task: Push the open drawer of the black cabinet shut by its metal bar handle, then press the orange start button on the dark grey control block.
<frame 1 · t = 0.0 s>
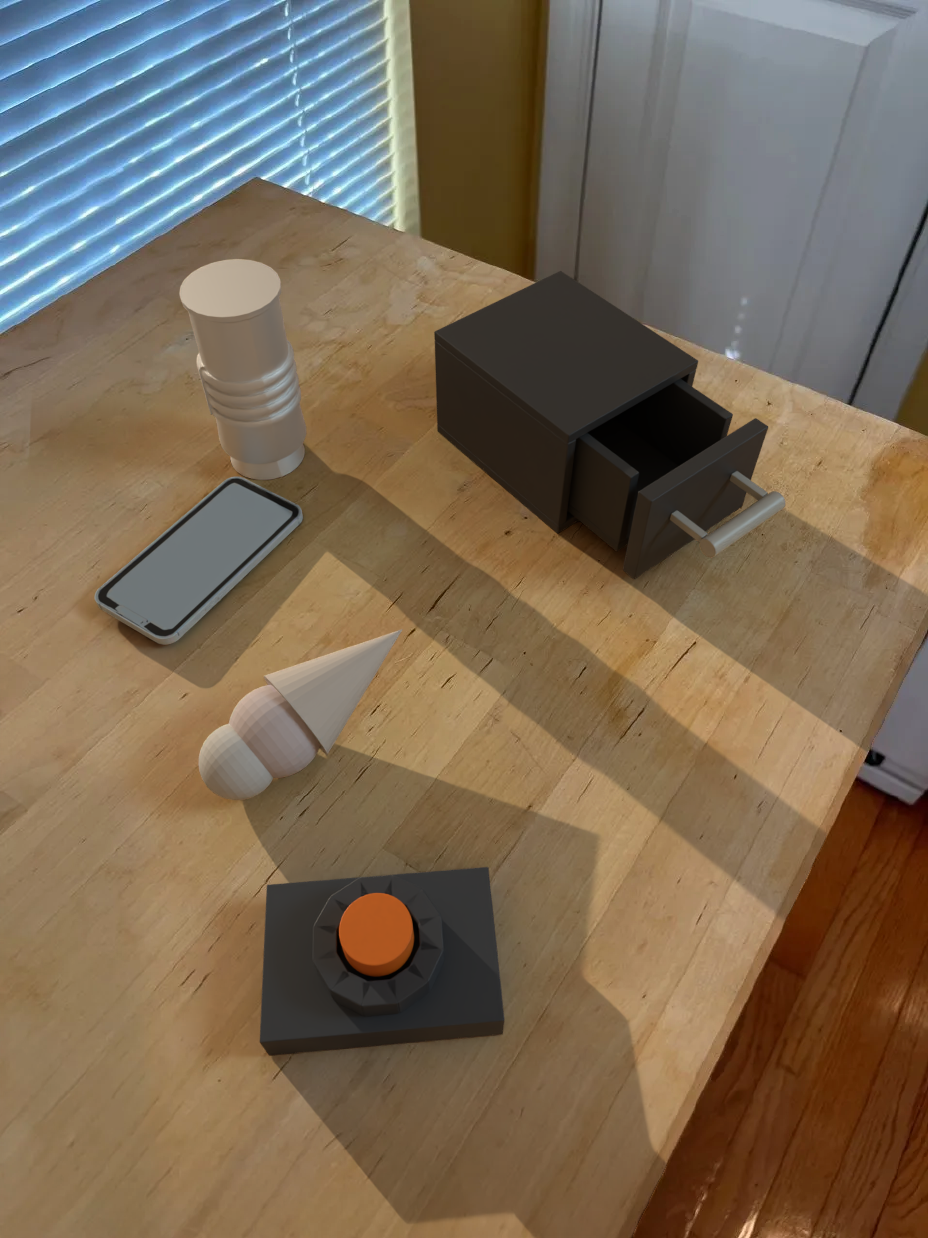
ice cream cone: (313, 732, 60), on the table
cabinet: (554, 445, 76), on the table
smartphone: (205, 561, 68), on the table
beige ribbed canister: (267, 455, 75), on the table
button: (377, 934, 47), point 5 cm above the table, slide at 0.1 cm
control block: (384, 966, 51), on the table
drawer: (652, 468, 67), point 5 cm above the table, slide at 6.0 cm
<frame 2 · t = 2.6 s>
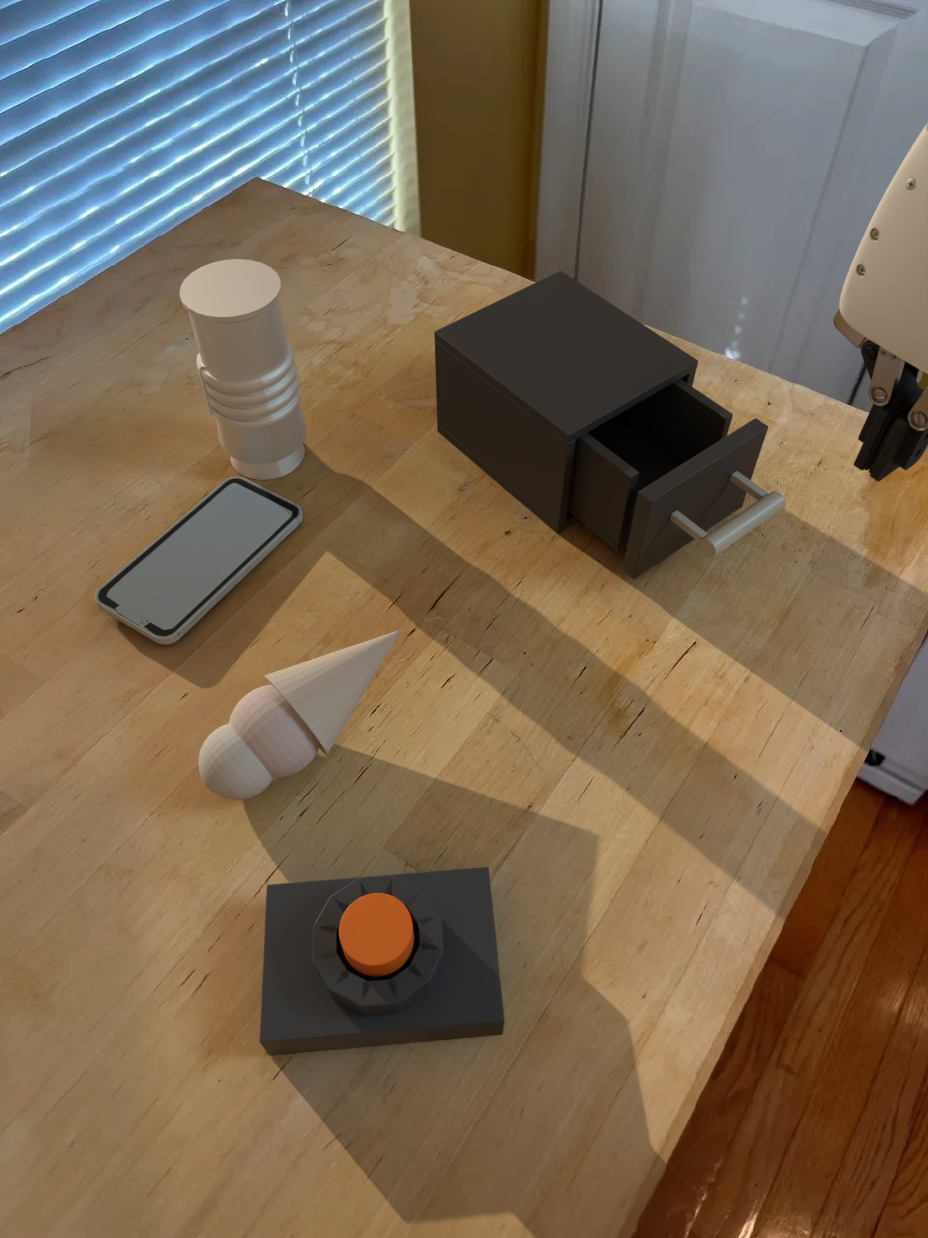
hand: (882, 462, 51), 16 cm above the table, tool pointing down, fingers closed
nothing on the table moved.
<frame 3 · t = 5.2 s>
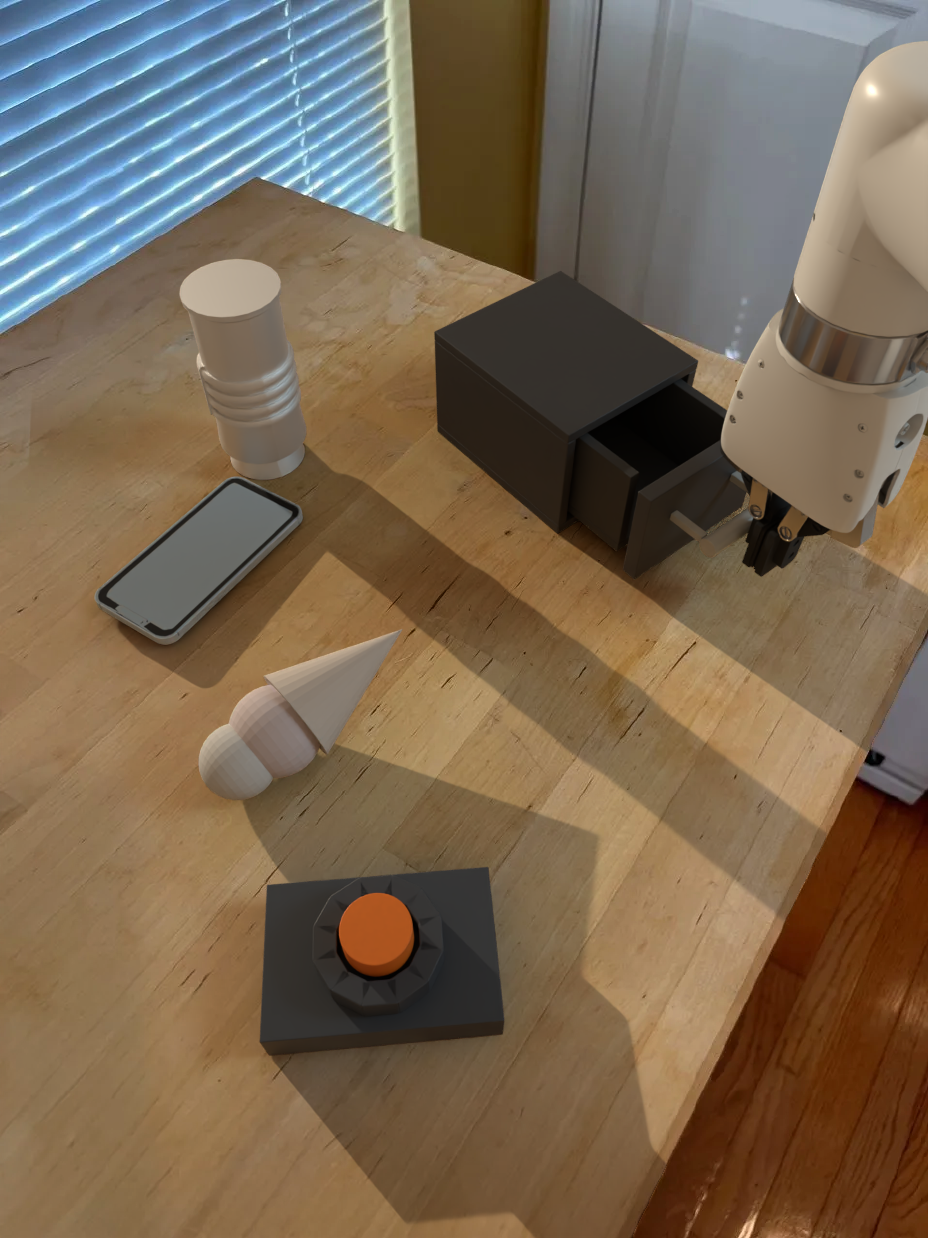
hand: (766, 559, 62), 4 cm above the table, tool pointing down, fingers closed
drawer: (652, 467, 67), point 5 cm above the table, slide at 6.0 cm, touching gripper
everything else where it was.
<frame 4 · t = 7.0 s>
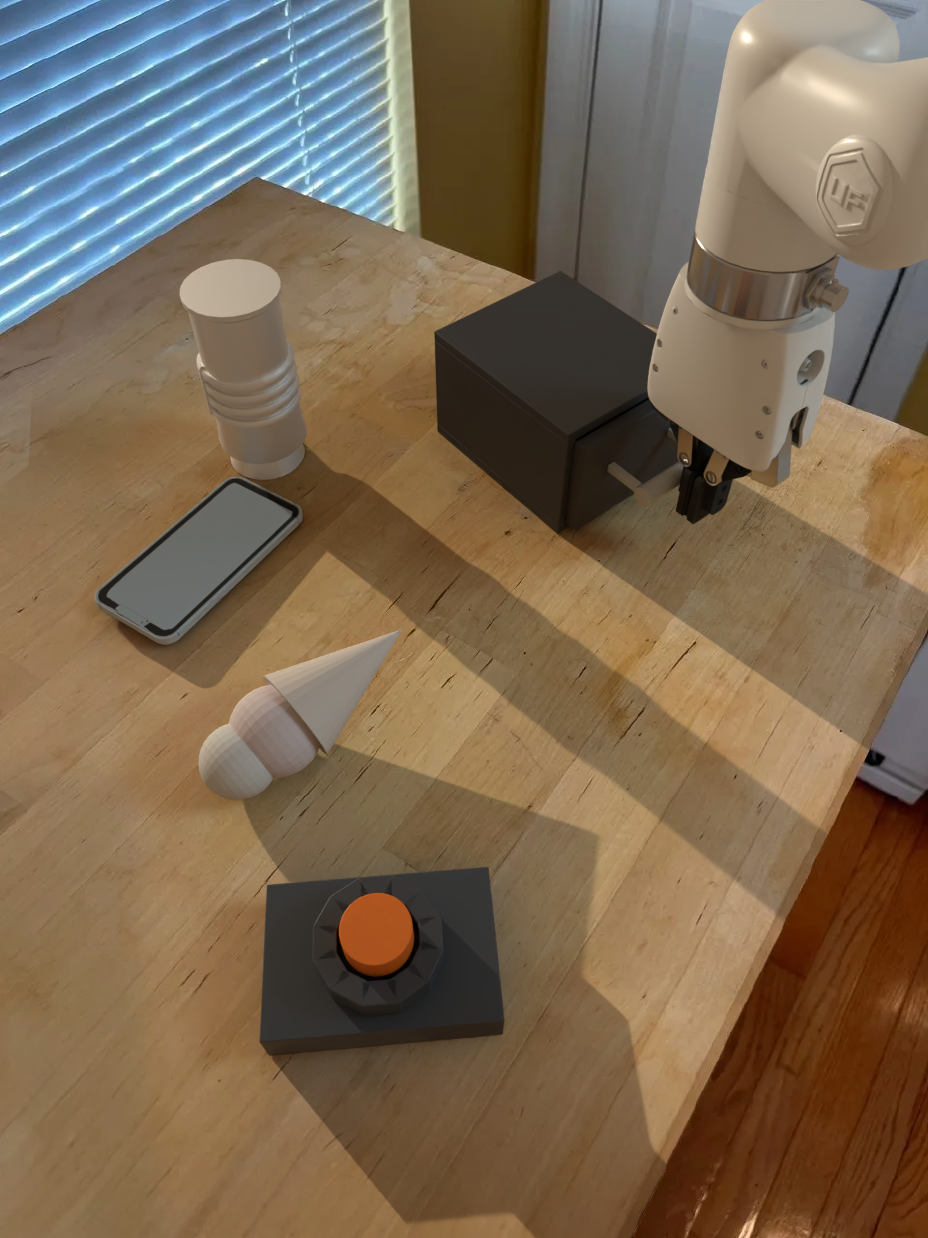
hand: (699, 508, 65), 4 cm above the table, tool pointing down, fingers closed
drawer: (594, 424, 70), point 5 cm above the table, slide at 0.0 cm, touching cabinet, gripper
everything else where it was.
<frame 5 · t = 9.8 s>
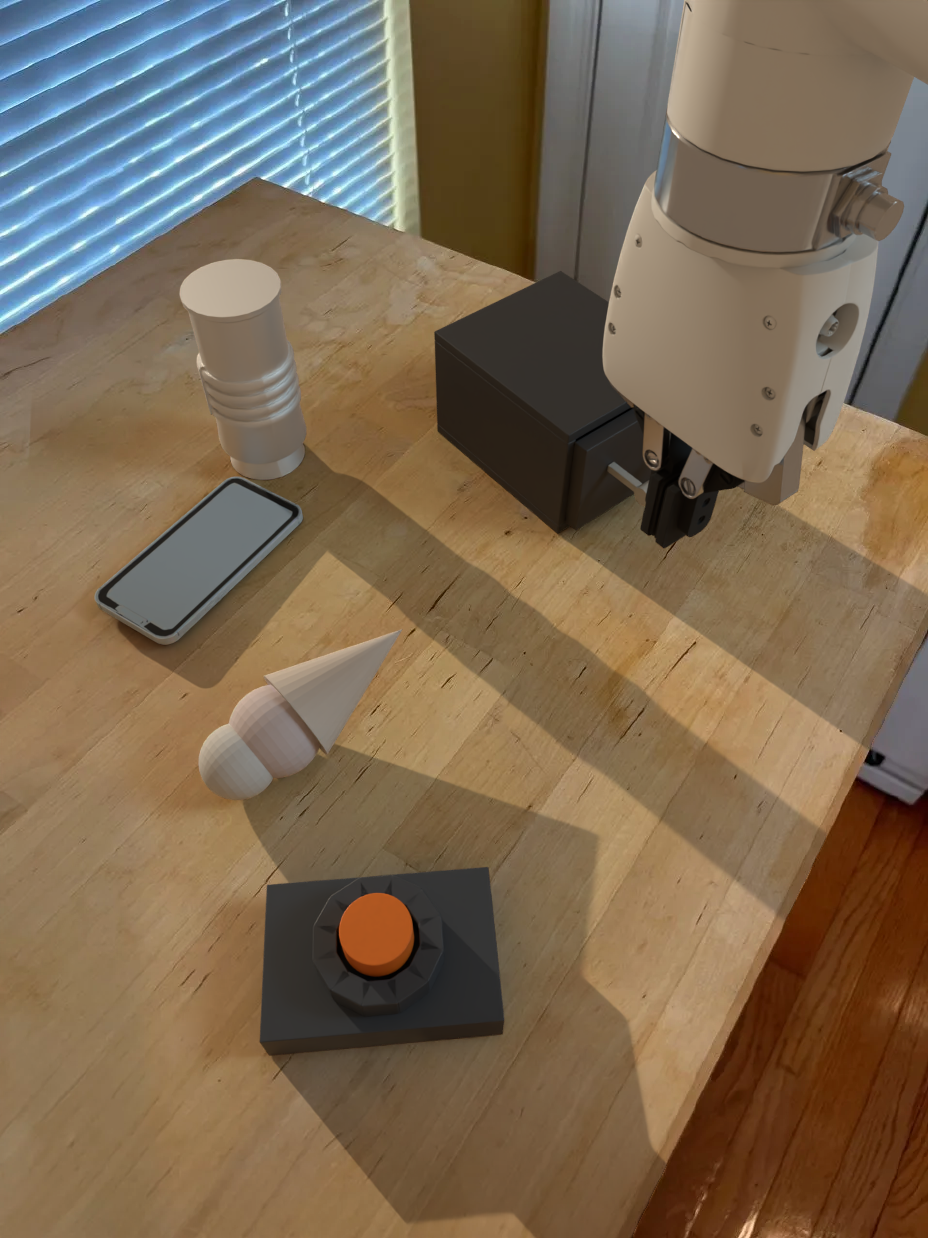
hand: (672, 526, 48), 16 cm above the table, tool pointing down, fingers closed
drawer: (594, 424, 70), point 5 cm above the table, slide at 0.0 cm, touching cabinet
everything else where it was.
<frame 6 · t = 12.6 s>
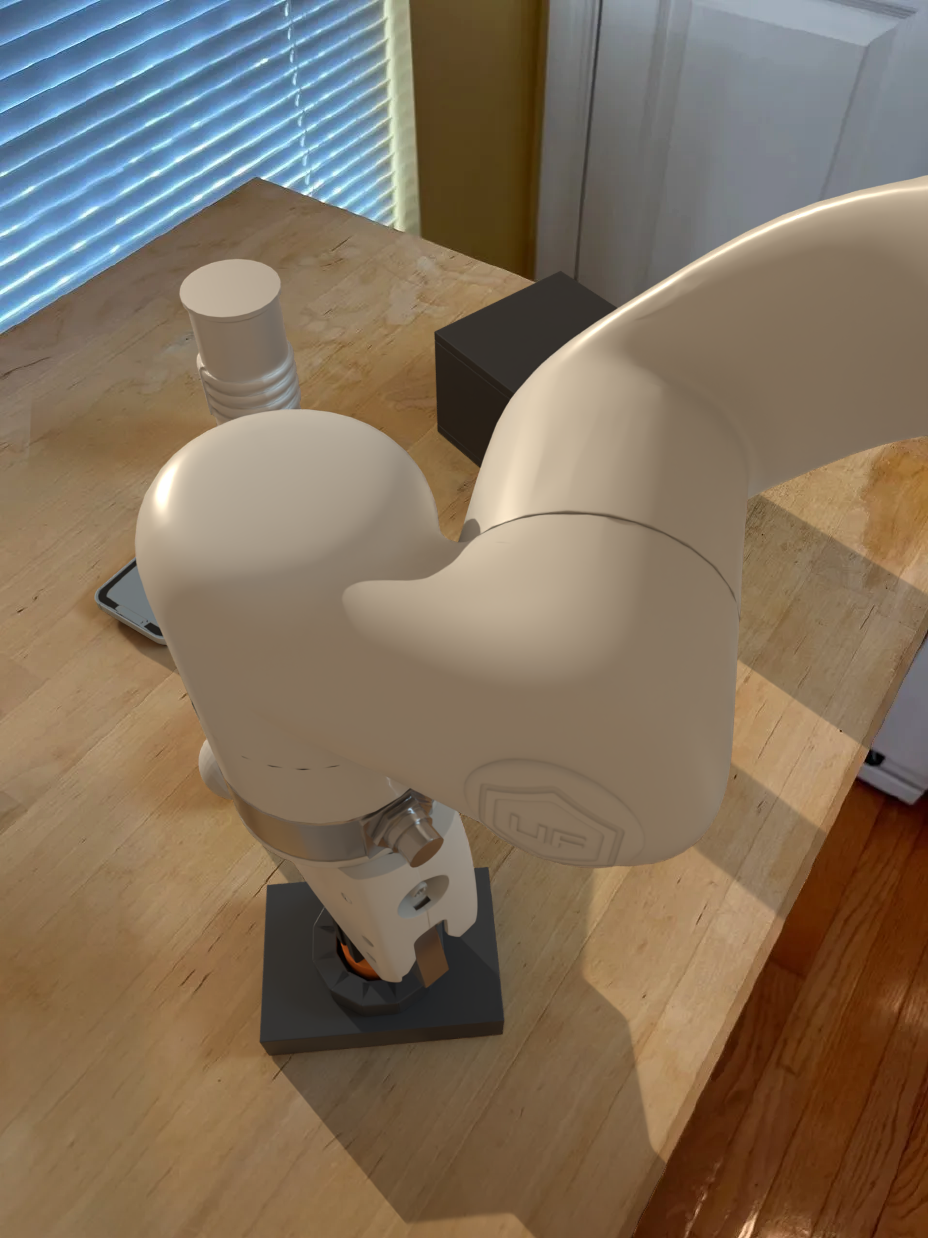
hand: (373, 931, 46), 5 cm above the table, tool pointing down, fingers closed
button: (377, 938, 47), point 4 cm above the table, slide at -0.5 cm, touching gripper
everything else where it was.
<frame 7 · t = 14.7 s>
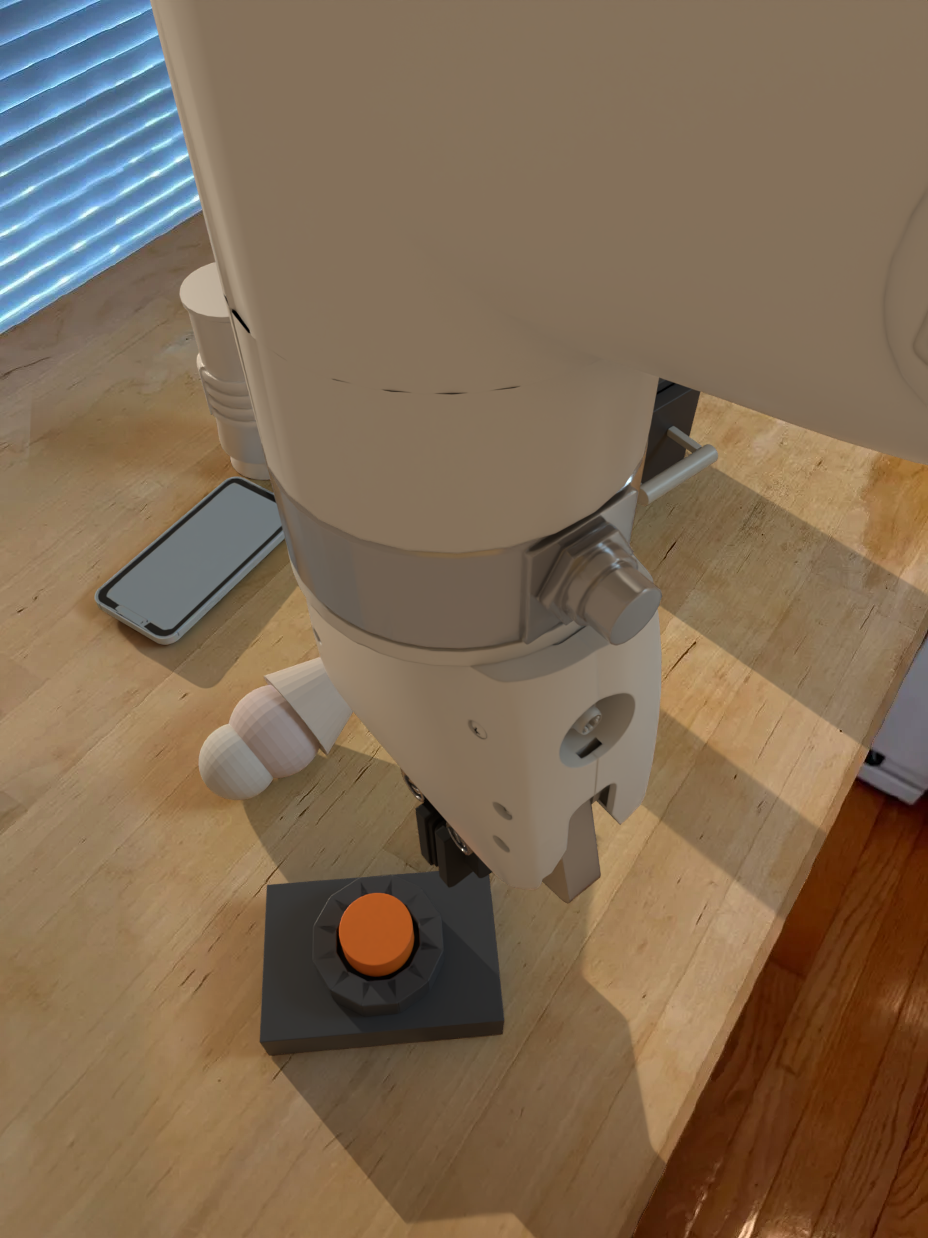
hand: (469, 847, 34), 19 cm above the table, tool pointing down, fingers closed
button: (377, 934, 47), point 5 cm above the table, slide at 0.1 cm
everything else where it was.
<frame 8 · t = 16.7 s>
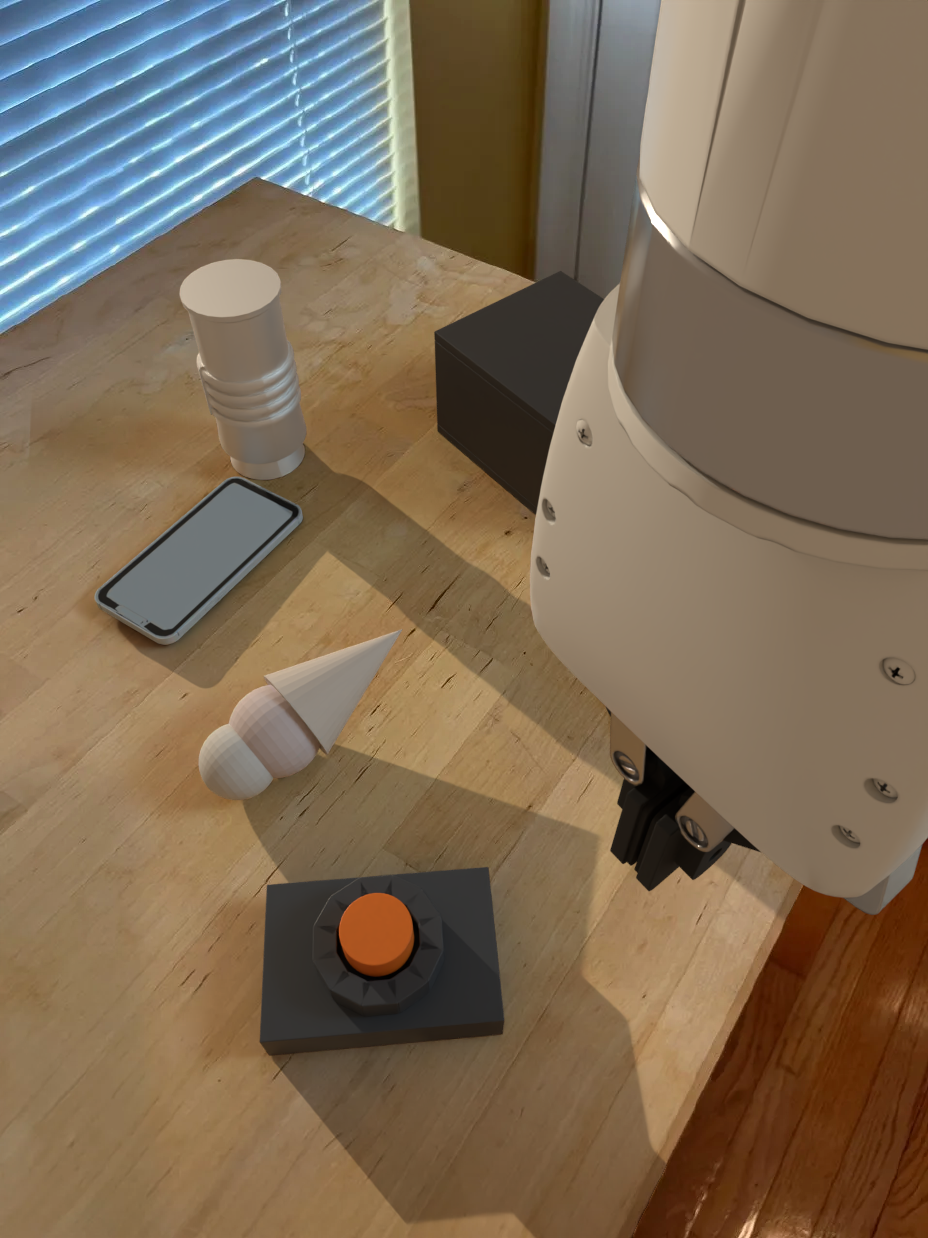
hand: (665, 842, 28), 25 cm above the table, tool pointing down, fingers closed
nothing on the table moved.
at the end: drawer slide at 0.0 cm; button pushed in 1.1 cm at the most during the clip, back to where it started at the end; button slide at 0.1 cm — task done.
